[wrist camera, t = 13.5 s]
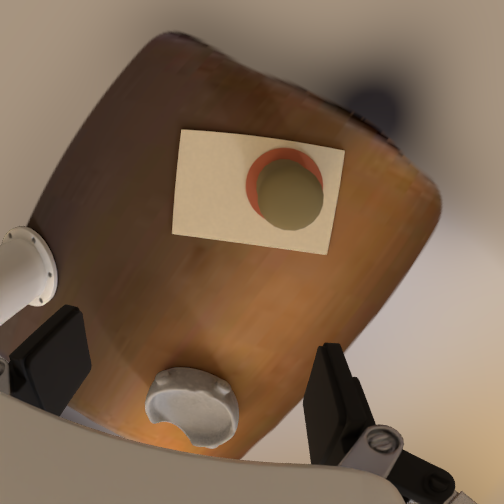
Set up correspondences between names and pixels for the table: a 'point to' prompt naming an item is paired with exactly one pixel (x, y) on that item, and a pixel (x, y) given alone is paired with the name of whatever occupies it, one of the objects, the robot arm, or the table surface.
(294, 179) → the cork
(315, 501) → the robot arm
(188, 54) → the table surface
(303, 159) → the placemat
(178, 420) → the dish
